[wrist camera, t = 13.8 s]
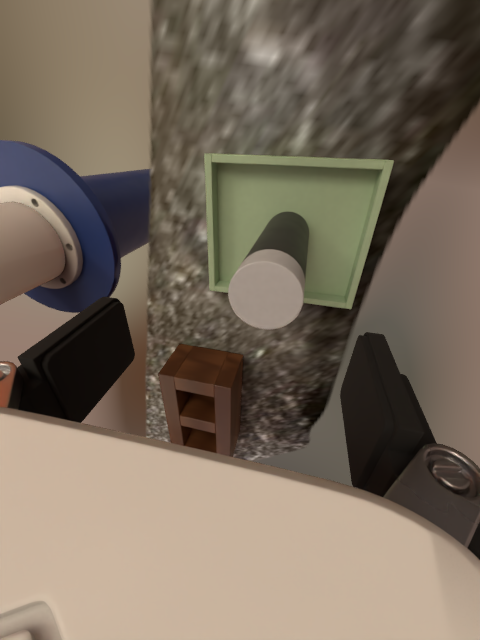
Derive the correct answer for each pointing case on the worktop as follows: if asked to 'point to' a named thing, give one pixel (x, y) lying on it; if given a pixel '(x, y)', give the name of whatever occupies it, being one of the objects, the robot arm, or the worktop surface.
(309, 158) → the tray
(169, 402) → the holder
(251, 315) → the tool handle
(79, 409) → the robot arm
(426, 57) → the worktop surface
